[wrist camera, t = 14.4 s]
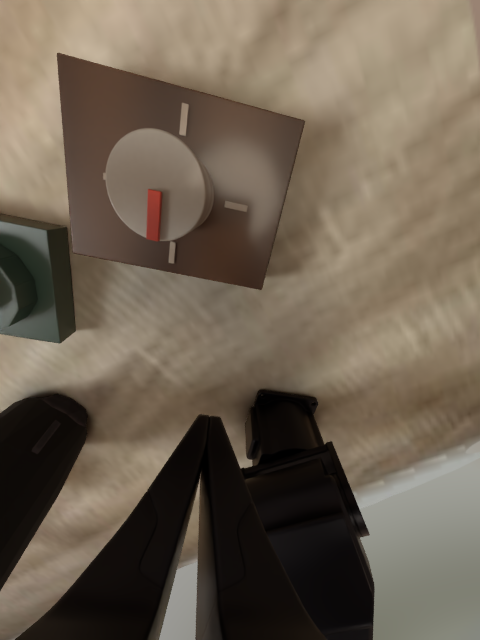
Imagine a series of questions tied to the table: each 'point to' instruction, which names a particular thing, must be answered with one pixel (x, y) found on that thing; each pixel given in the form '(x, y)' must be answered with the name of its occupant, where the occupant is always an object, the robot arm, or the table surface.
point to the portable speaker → (34, 467)
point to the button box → (35, 280)
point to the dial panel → (210, 148)
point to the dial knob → (158, 185)
